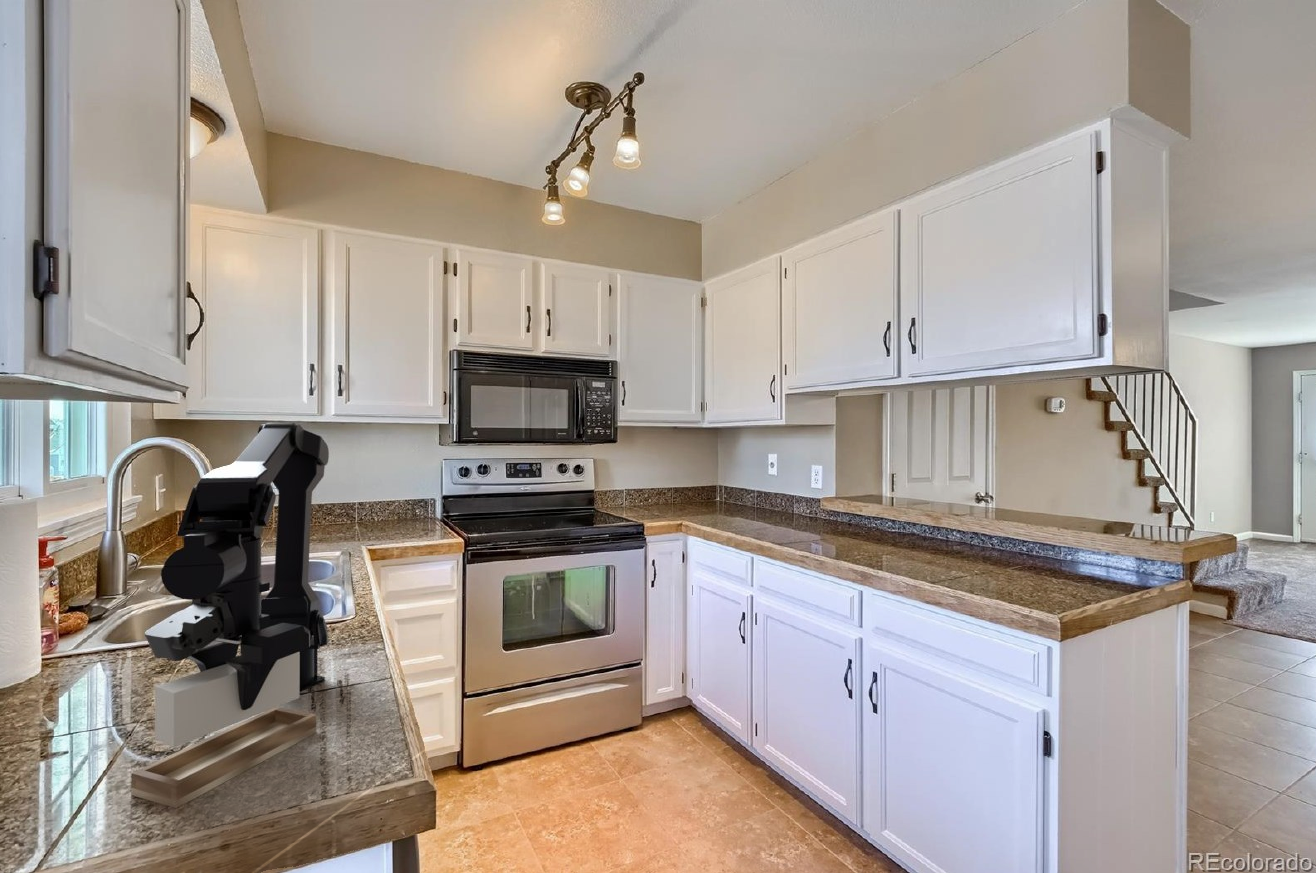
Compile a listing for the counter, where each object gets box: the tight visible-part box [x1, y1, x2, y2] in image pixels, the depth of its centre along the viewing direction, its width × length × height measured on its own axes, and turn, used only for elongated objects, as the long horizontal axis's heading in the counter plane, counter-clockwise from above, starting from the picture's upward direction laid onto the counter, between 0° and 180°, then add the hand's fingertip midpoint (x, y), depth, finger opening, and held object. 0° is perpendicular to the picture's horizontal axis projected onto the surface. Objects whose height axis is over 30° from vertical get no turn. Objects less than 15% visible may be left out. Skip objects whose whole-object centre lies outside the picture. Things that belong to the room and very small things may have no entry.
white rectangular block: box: [154, 652, 300, 748], centre depth 73 cm, size 14×4×6 cm, turn 153°
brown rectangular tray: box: [130, 706, 317, 809], centre depth 73 cm, size 17×7×2 cm, turn 161°
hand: (232, 706), depth 73 cm, fingers closed on white rectangular block, 4 cm apart
